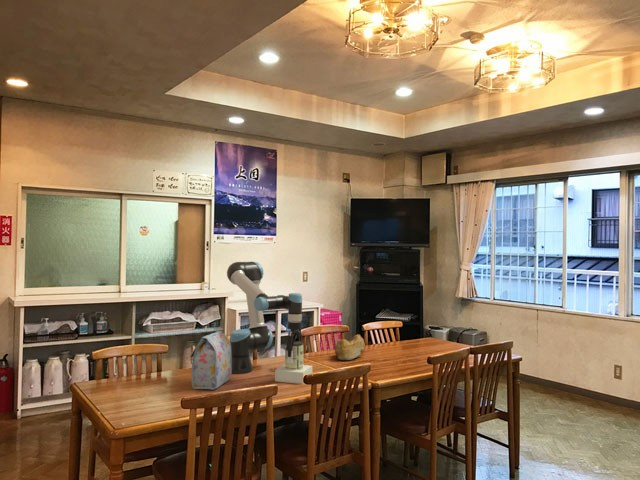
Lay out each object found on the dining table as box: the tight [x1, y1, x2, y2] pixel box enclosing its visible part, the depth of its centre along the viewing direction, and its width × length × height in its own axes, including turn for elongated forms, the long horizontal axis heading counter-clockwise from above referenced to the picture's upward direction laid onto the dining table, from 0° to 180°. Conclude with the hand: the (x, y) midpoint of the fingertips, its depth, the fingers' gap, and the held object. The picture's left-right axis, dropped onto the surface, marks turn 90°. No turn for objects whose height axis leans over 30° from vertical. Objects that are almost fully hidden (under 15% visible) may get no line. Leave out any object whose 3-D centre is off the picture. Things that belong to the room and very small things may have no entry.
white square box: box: [274, 363, 313, 385], centre depth 266 cm, size 16×16×6 cm
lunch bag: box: [189, 330, 233, 391], centre depth 253 cm, size 22×17×26 cm
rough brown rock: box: [334, 333, 366, 361], centre depth 321 cm, size 23×17×15 cm
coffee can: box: [284, 340, 304, 370], centre depth 266 cm, size 10×10×14 cm
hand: (294, 360), depth 266 cm, fingers open, 13 cm apart
